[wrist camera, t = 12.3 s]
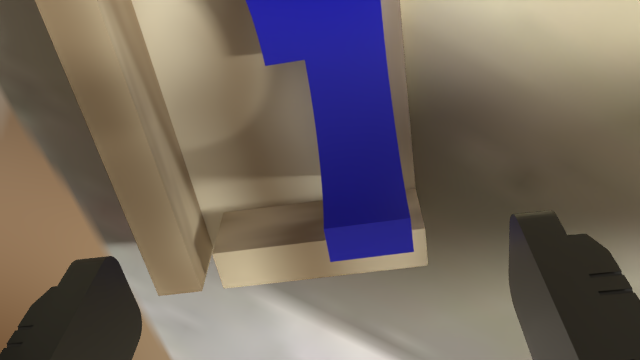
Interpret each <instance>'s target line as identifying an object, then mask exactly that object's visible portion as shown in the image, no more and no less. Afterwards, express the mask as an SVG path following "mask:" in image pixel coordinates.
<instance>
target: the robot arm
mask: <svg viewBox="0 0 640 360" xmlns="http://www.w3.org/2000/svg"><path fill="white" fill-rule="evenodd" d="M509 286H510V292H511V297H512V302H513V305H514V308H515V311H516V314H517V317H518V319H519V322H520V325H521V328H522V331H523V334H524V336H525V339H526V342H527V345H528V348H529V350H530V353H531V356H532V359H533V360H640V300H639V298H638V297H637V295H636V293H633V291H632V287H631V285H630V284H629V282H628V281H627V279H626V277H625V276H624V275H622V273H621V269H620V268H619V266H618V265H617V263H616V261H615V260H614V258H613V257H612V255H611V253H610V252H609V250H608V249H606V248H605V247H603V246H602V245H601V244H599V243H598V242H597V241H595V240H594V239H592V238H591V237H590V236H588V235H587V234H577V235H567V234H566V232H565V230H564V228H563V226H562V225H561V223H560V221H559V219H558V217H557V216H556V214H555V212H554V211H552V210H548V211H539V212H529V213H520V214H512V215H511V218H510V233H509ZM141 330H142V319H141V313H140V309H139V307H138V304H137V302H136V300H135V298H134V295H133V293H132V291H131V289H130V287H129V284H128V282H127V280H126V278H125V275H124V273H123V271H122V269H121V266H120V264H119V262H118V261H117V259H115V258H114V257H112V256H108V257H98V258H89V259H80V260H75V261H74V262H72V263H71V265H70V266H69V268H68V270H67V272H66V273H65V275H64V276H63V278H62V279H61V281H60V283H59V284H58V286H55V287H51V288H50V289H49V290H48V291H47V292H46V293H45V294H44V295H43V296H41V297H40V298H39V299H38V300H37V301H36V302H35V303H34V304H32V306H31V307H30V308H29V310H28V311H27V313H26V315H25V316H24V318H23V319H22V321H21V322H20V324H19V326H18V331H15V332H14V333H13V335H12V336H11V338H10V339H9V341H8V343H7V348H4V349H3V350H2V352H1V354H0V360H132V358H133V355H134V352H135V350H136V347H137V345H138V342H139V339H140V336H141Z"/></svg>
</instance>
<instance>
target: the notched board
mask: <svg viewBox="0 0 640 360" xmlns="http://www.w3.org/2000/svg"><path fill="white" fill-rule="evenodd" d="M35 2H36V4H37V7H38V9H39V12H40V14H41V16H42V19H43V21H44V24H45V26H46V28H47V31H48V33H49V35H50V38H51V40H52V43H53V45H54V47H55V50H56V52H57V55H58V57H59V59H60V62H61V64H62V66H63V69H64V71H65V74H66V76H67V78H68V81H69V83H70V86H71V88H72V90H73V93H74V95H75V97H76V100H77V102H78V105H79V107H80V109H81V112H82V114H83V117H84V119H85V121H86V124H87V126H88V128H89V131H90V133H91V136H92V138H93V140H94V143H95V145H96V148H97V150H98V152H99V155H100V157H101V159H102V162H103V164H104V167H105V169H106V171H107V174H108V176H109V179H110V181H111V183H112V186H113V188H114V190H115V193H116V195H117V198H118V200H119V202H120V205H121V207H122V210H123V212H124V214H125V217H126V219H127V221H128V224H129V226H130V229H131V231H132V233H133V236H134V238H135V241H136V243H137V245H138V248H139V250H140V252H141V255H142V257H143V260H144V262H145V264H146V267H147V269H148V272H149V274H150V276H151V279H152V281H153V283H154V286H155V288H156V291H157V293H158V295H159V296H163V295H171V294H180V293H189V292H198V291H202V289H203V285H204V282H205V278H206V274H207V270H208V267H209V263H210V259H211V255H213V258H214V261H215V264H216V267H217V270H218V273H219V276H220V279H221V282H222V285H223V288H233V287H242V286H251V285H260V284H269V283H277V282H286V281H295V280H304V279H313V278H322V277H330V276H339V275H348V274H357V273H366V272H375V271H384V270H392V269H401V268H410V267H419V266H428V258H427V245H426V232H425V225H424V221H423V217H422V213H421V209H420V205H419V200H418V196H417V192H416V187H415V175H414V163H413V151H412V139H411V127H410V116H409V104H408V92H407V80H406V68H405V56H404V45H403V33H402V21H401V9H400V0H381V9H382V20H383V30H384V40H385V49H386V58H387V66H388V75H389V83H390V91H391V99H392V106H393V114H394V121H395V128H396V135H397V142H398V149H399V155H400V162H401V168H402V174H403V180H404V186H405V192H406V197H407V202H408V208H409V213H410V218H411V227H412V237H413V247H414V252H409V253H401V254H393V255H385V256H376V257H368V258H360V259H352V260H344V261H335V262H330V258H329V253H328V248H327V243H326V238H325V233H324V217H323V196H322V182H321V171H320V161H319V151H318V143H317V135H316V127H315V120H314V113H313V106H312V99H311V93H310V87H309V81H308V75H307V70H306V64H305V60H301V61H294V62H288V63H281V64H275V65H269V66H265V63H264V59H263V55H262V51H261V47H260V43H259V39H258V36H257V32H256V29H255V26H254V23H253V20H252V17H251V14H250V11H249V8H248V5H247V3H246V0H35ZM213 248H214V249H213ZM212 252H213V253H212Z"/></svg>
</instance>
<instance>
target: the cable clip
mask: <svg viewBox="0 0 640 360" xmlns="http://www.w3.org/2000/svg"><path fill="white" fill-rule="evenodd" d="M246 3H247V5H248V8H249V11H250V14H251V17H252V20H253V23H254V26H255V29H256V32H257V36H258V39H259V43H260V47H261V51H262V55H263V59H264V63H265V66H269V65H275V64H281V63H288V62H294V61H301V60H305V64H306V70H307V75H308V81H309V87H310V93H311V99H312V106H313V113H314V120H315V127H316V135H317V143H318V151H319V161H320V171H321V182H322V196H323V217H324V233H325V238H326V243H327V248H328V253H329V258H330V262H335V261H344V260H352V259H360V258H368V257H376V256H385V255H393V254H401V253H409V252H414V247H413V237H412V227H411V218H410V213H409V208H408V202H407V197H406V192H405V186H404V180H403V174H402V168H401V162H400V155H399V149H398V142H397V135H396V128H395V121H394V114H393V106H392V99H391V91H390V83H389V75H388V66H387V58H386V49H385V40H384V30H383V20H382V9H381V0H246Z"/></svg>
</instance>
